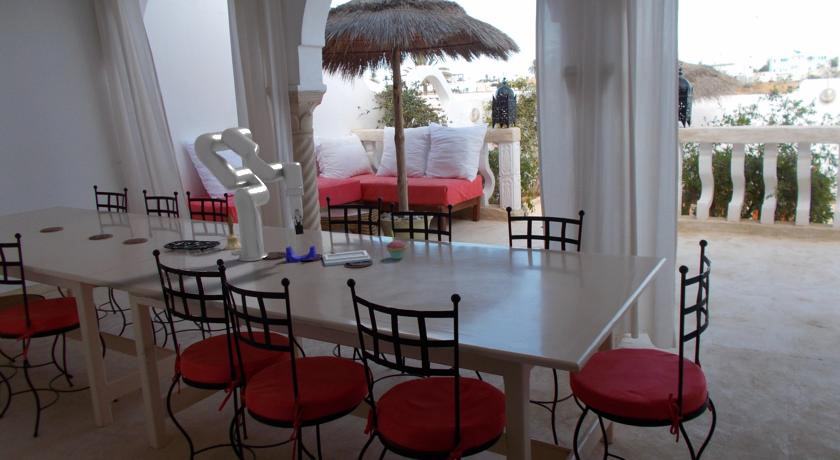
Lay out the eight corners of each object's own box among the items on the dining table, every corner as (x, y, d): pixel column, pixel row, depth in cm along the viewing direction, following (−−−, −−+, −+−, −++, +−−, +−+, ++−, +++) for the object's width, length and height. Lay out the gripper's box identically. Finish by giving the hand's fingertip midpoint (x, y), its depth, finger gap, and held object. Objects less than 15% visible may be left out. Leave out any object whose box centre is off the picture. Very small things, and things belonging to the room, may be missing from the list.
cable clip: (286, 262, 274) (284, 249, 272) (289, 260, 278) (287, 246, 277) (313, 261, 272) (312, 248, 271) (316, 259, 277) (315, 245, 276)
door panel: (325, 266, 264) (324, 260, 263) (322, 257, 279) (322, 252, 279) (371, 261, 268) (370, 256, 267) (365, 252, 283) (365, 247, 283)
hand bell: (239, 249, 302) (236, 216, 299) (222, 250, 303) (218, 216, 299) (244, 245, 310) (241, 212, 307) (227, 246, 311) (224, 213, 307)
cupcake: (383, 259, 270) (381, 231, 268) (393, 254, 278) (391, 227, 275) (401, 260, 266) (399, 232, 264) (411, 255, 274) (409, 228, 271)
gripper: (285, 190, 276) (289, 229, 279) (285, 195, 259) (290, 237, 262) (302, 188, 277) (307, 227, 281) (304, 193, 261) (309, 234, 264)
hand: (299, 232), depth 271 cm, fingers open, 9 cm apart
